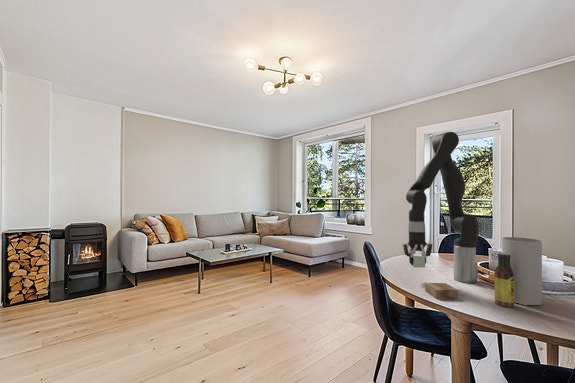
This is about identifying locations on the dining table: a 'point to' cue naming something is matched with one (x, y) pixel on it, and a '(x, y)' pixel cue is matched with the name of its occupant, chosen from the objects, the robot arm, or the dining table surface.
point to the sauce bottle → (504, 282)
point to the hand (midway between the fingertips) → (417, 264)
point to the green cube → (418, 261)
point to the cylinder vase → (525, 268)
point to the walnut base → (441, 291)
